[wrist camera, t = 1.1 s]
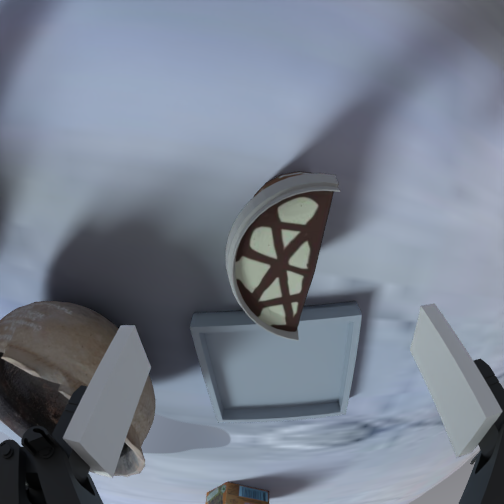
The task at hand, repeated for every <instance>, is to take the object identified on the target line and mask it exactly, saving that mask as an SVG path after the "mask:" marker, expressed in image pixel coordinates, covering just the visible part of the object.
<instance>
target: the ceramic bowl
mask: <svg viewBox="0 0 504 504" xmlns="http://www.w3.org/2000/svg"><path fill="white" fill-rule="evenodd" d="M117 331H118V328H117V327H116V326H115V325H114V324H113V323H112V322H110V321H109V320H108V319H106V318H105V317H103V316H102V315H100V314H99V313H98V312H95V311H93V310H91V309H89V308H86V307H84V306H80V305H77V304H73V303H70V302H59V301H41V302H34V303H31V304H29V305H26V306H22V307H19V308H17V309H15V310H13V311H12V312H10V313H9V314H7V315H6V316H5V317H3V318H2V319H1V320H0V420H1V421H2V422H3V423H4V424H5V425H7V426H8V427H9V428H10V429H11V430H12V431H14V432H15V433H16V434H17V435H18V436H20V437H21V438H22V437H23V434H24V433H25V432H26V431H27V430H28V429H29V428H31V427H33V426H42V427H44V428H45V429H47V431H48V432H49V433H50V434H51V435H52V433H53V431H54V429H55V427H56V425H57V423H58V421H59V419H60V417H61V415H62V413H63V411H65V410H64V409H65V407H66V405H67V404H68V401H69V400H70V398H71V396H72V394H73V392H75V391H76V390H77V389H78V388H79V387H80V386H81V385H83V386H88V385H89V383H90V381H91V379H92V377H93V375H94V373H95V372H96V370H97V368H98V366H99V364H100V362H101V360H102V358H103V357H104V355H105V353H106V351H107V349H108V347H109V346H110V344H111V342H112V340H113V338H114V337H115V335H116V333H117ZM154 414H155V395H154V390H153V385H152V382H151V378H150V376H149V374H148V377H147V380H146V383H145V385H144V388H143V391H142V394H141V396H140V399H139V402H138V405H137V407H136V410H135V413H134V416H133V419H132V422H131V425H130V427H129V430H128V433H127V436H126V439H125V442H124V445H123V448H122V451H121V454H120V457H119V460H118V463H117V467H116V470H115V473H114V476H126V477H128V476H130V475H133V474H139V473H140V472H141V471H142V470H143V468H144V467H145V459H144V456H143V453H142V449H141V445H142V443H143V441H144V439H145V438H146V436H147V434H148V432H149V430H150V428H151V425H152V423H153V420H154ZM89 471H90V472H93V473H95V472H94V471H93V470H92V469H91V468H90V470H89Z"/></svg>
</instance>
